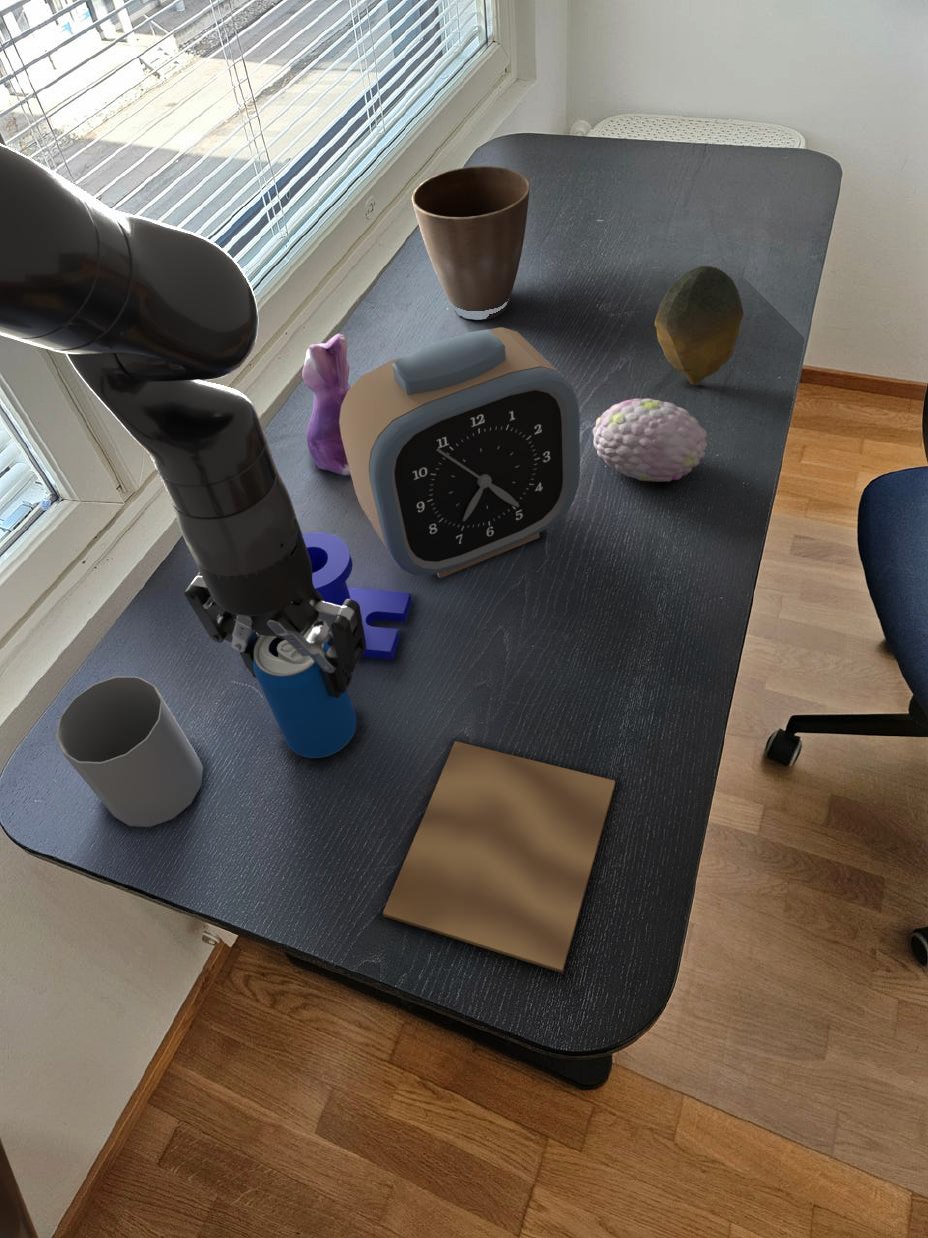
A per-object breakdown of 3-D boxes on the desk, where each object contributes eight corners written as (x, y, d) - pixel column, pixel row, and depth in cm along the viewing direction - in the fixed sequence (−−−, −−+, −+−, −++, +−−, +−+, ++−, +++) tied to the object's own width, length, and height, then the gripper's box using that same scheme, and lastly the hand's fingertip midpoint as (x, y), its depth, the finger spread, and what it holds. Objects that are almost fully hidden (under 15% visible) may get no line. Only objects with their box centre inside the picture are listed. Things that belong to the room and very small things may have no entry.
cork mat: (562, 973, 63) (562, 970, 63) (383, 916, 67) (382, 913, 67) (615, 784, 73) (615, 780, 72) (455, 744, 77) (455, 740, 76)
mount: (246, 644, 87) (218, 583, 80) (272, 588, 92) (248, 526, 85) (392, 659, 84) (376, 597, 77) (412, 601, 89) (398, 537, 82)
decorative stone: (735, 373, 108) (752, 254, 96) (730, 403, 104) (747, 283, 93) (655, 367, 110) (662, 251, 99) (647, 396, 107) (654, 278, 95)
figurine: (335, 418, 110) (306, 307, 99) (401, 440, 106) (379, 327, 95) (286, 463, 105) (250, 351, 94) (354, 487, 101) (325, 373, 90)
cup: (170, 727, 81) (128, 659, 74) (221, 778, 77) (182, 712, 70) (90, 788, 78) (37, 724, 70) (139, 846, 74) (88, 783, 66)
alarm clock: (402, 601, 89) (361, 424, 72) (368, 544, 95) (323, 368, 78) (582, 527, 93) (582, 344, 77) (539, 477, 99) (530, 297, 83)
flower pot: (445, 276, 130) (431, 163, 118) (545, 281, 127) (541, 165, 115) (414, 332, 121) (396, 216, 109) (521, 339, 118) (513, 219, 106)
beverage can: (320, 691, 82) (287, 604, 73) (373, 721, 79) (345, 635, 70) (272, 741, 79) (231, 657, 70) (325, 775, 76) (290, 692, 67)
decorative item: (705, 472, 89) (660, 382, 88) (613, 513, 96) (569, 431, 94) (726, 448, 96) (685, 364, 95) (639, 488, 103) (599, 410, 101)
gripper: (126, 553, 61) (205, 696, 73) (312, 591, 57) (362, 736, 69) (184, 483, 65) (248, 629, 78) (360, 513, 61) (398, 663, 74)
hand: (301, 679), depth 73 cm, fingers closed on beverage can, 6 cm apart
